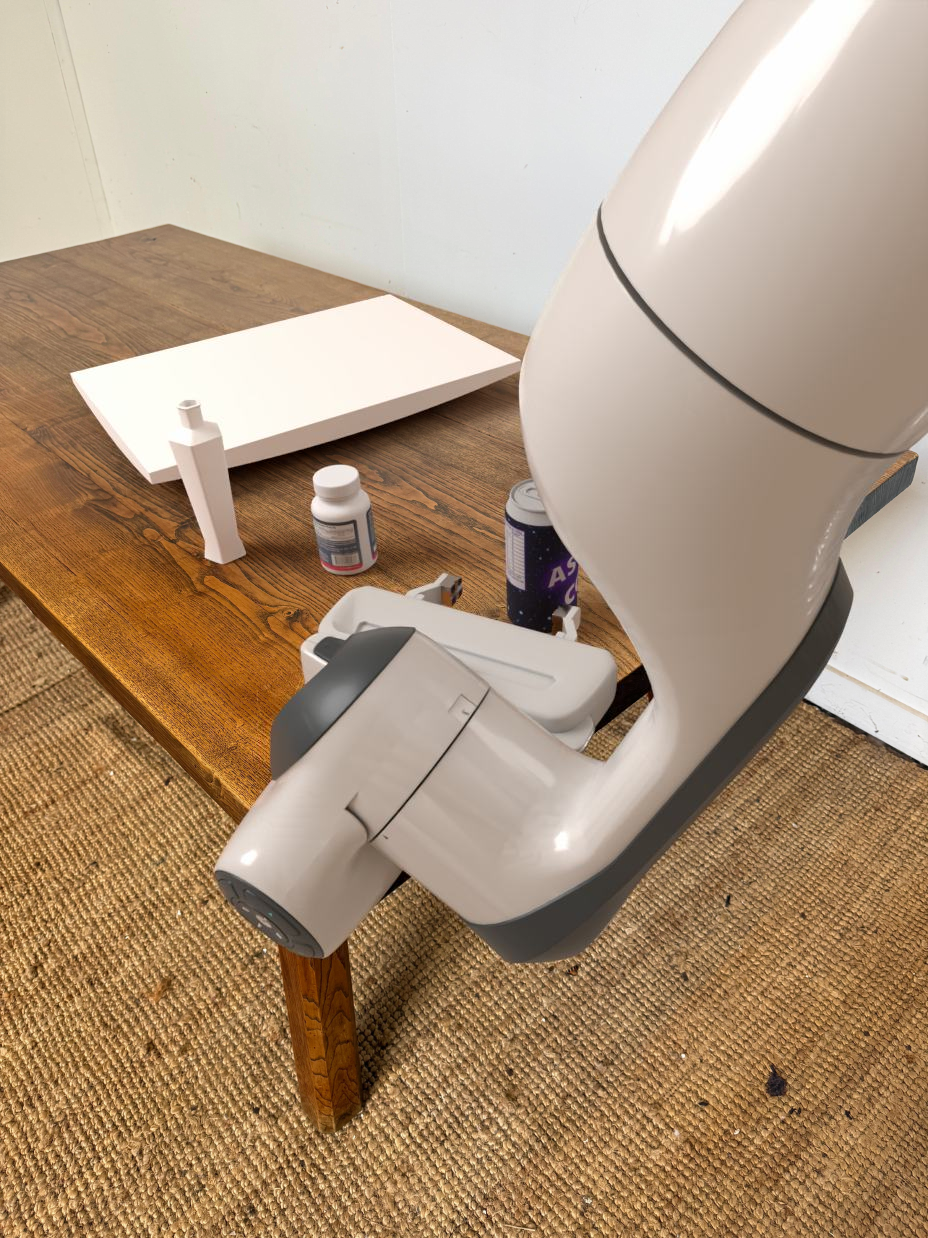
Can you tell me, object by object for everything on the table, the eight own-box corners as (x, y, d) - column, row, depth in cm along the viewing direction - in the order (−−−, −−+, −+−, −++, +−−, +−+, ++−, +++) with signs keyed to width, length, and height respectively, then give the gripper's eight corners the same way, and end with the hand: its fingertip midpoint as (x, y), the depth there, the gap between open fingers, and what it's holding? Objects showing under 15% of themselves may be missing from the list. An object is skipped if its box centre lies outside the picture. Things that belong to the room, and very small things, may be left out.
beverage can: (552, 651, 69) (554, 521, 62) (493, 626, 72) (489, 498, 65) (589, 614, 73) (595, 487, 65) (532, 592, 76) (532, 467, 68)
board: (392, 326, 129) (389, 293, 126) (521, 397, 107) (521, 360, 104) (82, 408, 111) (70, 372, 108) (161, 514, 89) (148, 473, 86)
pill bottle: (350, 538, 84) (338, 454, 78) (389, 557, 81) (379, 471, 76) (309, 563, 81) (292, 478, 75) (348, 583, 78) (334, 496, 73)
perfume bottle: (261, 546, 84) (228, 397, 74) (229, 569, 81) (190, 417, 71) (226, 534, 86) (190, 387, 76) (193, 556, 83) (151, 407, 74)
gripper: (575, 731, 49) (652, 595, 58) (279, 638, 57) (388, 532, 66) (572, 806, 53) (645, 667, 62) (295, 709, 61) (397, 599, 70)
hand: (510, 596), depth 64 cm, fingers open, 8 cm apart
